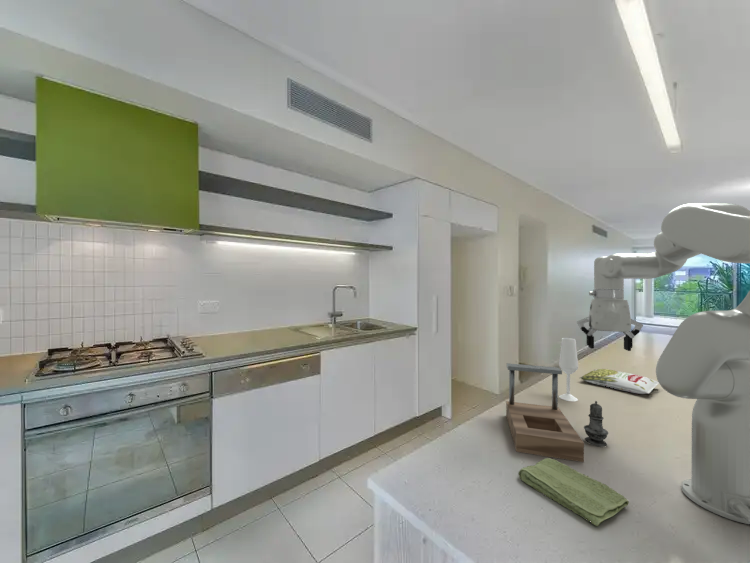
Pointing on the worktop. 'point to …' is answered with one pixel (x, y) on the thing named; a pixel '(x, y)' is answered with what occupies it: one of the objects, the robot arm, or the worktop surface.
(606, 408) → the worktop surface
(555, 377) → the grey metal arch
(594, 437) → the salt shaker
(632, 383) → the frozen beans
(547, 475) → the washcloth
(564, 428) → the socket board
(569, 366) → the champagne flute
